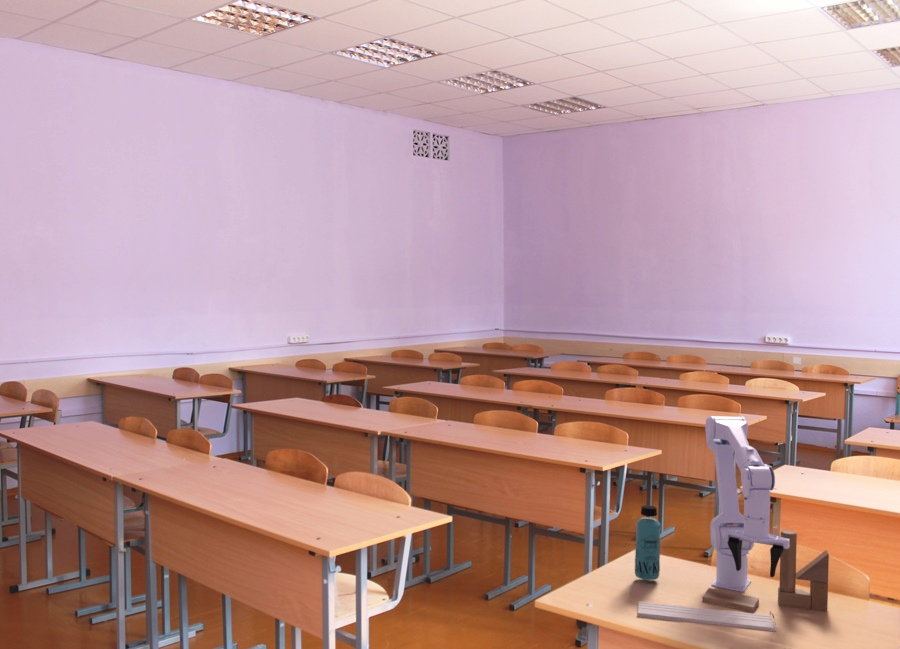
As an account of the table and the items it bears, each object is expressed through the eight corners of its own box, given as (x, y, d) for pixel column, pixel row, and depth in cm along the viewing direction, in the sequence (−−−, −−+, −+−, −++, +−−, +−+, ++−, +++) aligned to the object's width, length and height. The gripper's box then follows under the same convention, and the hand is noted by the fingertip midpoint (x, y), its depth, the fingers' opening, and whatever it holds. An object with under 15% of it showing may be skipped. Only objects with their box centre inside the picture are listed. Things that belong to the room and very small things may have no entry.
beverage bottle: (629, 578, 208) (631, 504, 207) (651, 576, 210) (652, 502, 209) (642, 587, 202) (644, 510, 201) (665, 584, 203) (666, 508, 203)
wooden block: (827, 612, 186) (829, 538, 186) (778, 606, 190) (780, 533, 189) (825, 607, 190) (827, 533, 189) (777, 601, 193) (779, 529, 193)
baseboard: (638, 603, 192) (637, 619, 183) (639, 591, 192) (637, 607, 182) (769, 617, 184) (775, 634, 175) (770, 605, 184) (776, 622, 175)
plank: (708, 593, 197) (708, 587, 197) (758, 604, 190) (759, 598, 190) (702, 602, 192) (702, 596, 192) (753, 613, 185) (753, 607, 185)
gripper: (721, 515, 186) (719, 571, 186) (786, 525, 178) (784, 583, 179) (728, 508, 192) (727, 563, 192) (791, 518, 184) (790, 575, 185)
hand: (755, 572), depth 186 cm, fingers open, 7 cm apart
